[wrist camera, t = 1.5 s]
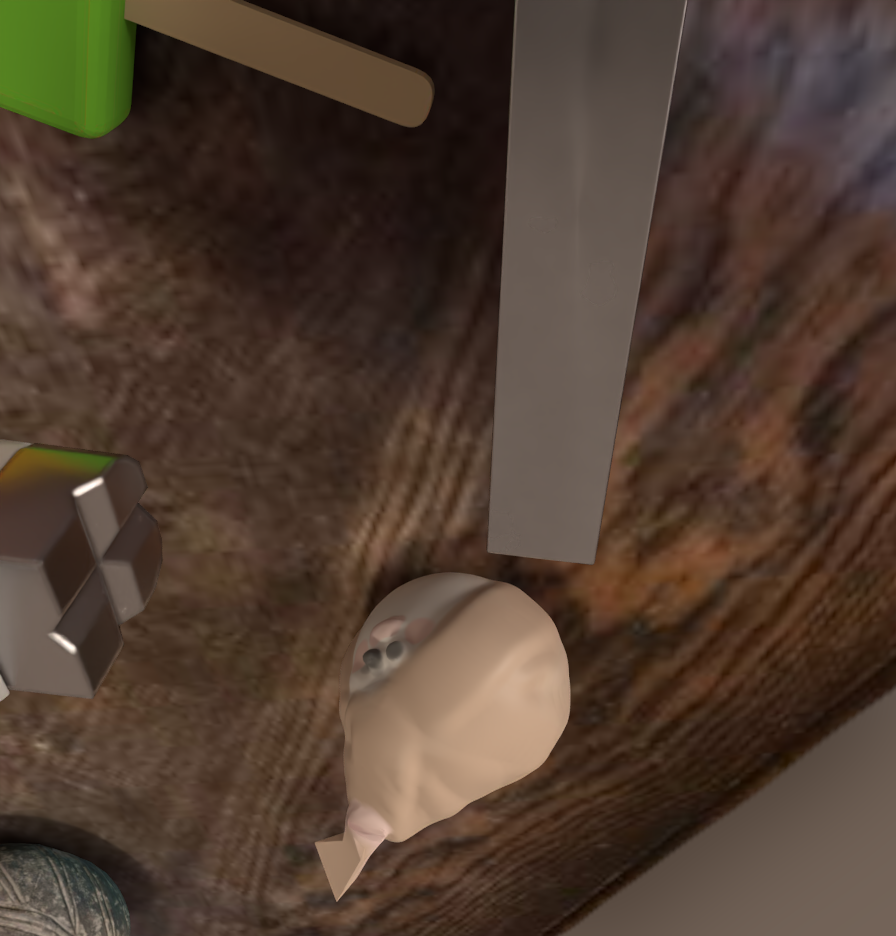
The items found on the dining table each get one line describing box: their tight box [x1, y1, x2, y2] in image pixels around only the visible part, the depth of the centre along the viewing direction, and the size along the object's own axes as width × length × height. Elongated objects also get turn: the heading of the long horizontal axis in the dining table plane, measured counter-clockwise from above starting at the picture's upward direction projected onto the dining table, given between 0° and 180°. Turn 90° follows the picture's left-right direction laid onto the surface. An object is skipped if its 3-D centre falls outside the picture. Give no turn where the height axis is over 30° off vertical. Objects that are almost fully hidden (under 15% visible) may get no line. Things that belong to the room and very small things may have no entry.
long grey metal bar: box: [487, 0, 688, 565], centre depth 15 cm, size 16×2×4 cm, turn 0°
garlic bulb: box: [315, 572, 570, 902], centre depth 23 cm, size 7×6×8 cm
